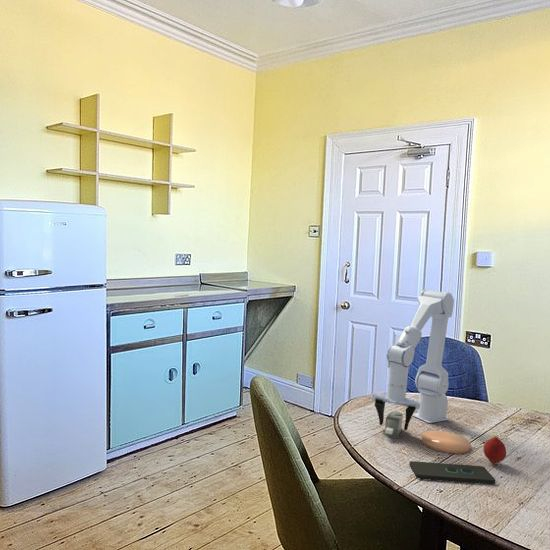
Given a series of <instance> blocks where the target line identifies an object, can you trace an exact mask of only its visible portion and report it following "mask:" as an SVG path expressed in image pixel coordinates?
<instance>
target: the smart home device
mask: <svg viewBox="0 0 550 550" xmlns="http://www.w3.org/2000/svg"><path fill="white" fill-rule="evenodd" d="M409 465H410V466H409V468H410V467H411V468H410V469H412V470H411V471H412V473H413V472H414V473H413V475H414V474H415V475H414V477H415V476H416V477H415V478H416V479H417V478H420V479H419V480H423V479H431V480H430V481H437V480H442V481H441V482H451V481H454V482H455V483H466V484H468V483H469V484H480V485H481V484H483V485H495V484H496V478H495V477H494V476H493V475H492V474H491V473H490V472H489V471H488V469H487V468H486V467H485V466H482V465H473V464H469V465H468V464H459V463H456V464H455V463H442V462H427V461H413V460H411V461H409ZM454 482H453V483H454Z"/></svg>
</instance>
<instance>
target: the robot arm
mask: <svg viewBox="0 0 550 550" xmlns="http://www.w3.org/2000/svg"><path fill="white" fill-rule="evenodd" d="M417 303H418V309H417V311H416V313H415V315H414V317H413V319H412V321H411V324H410V325H409V326H405V327H404V329H403V331H402V333H401V334H400V336H399V337H398V339H397V341H396V343H395V344H393V345H392V346H391V345H390V347H388V350H387V353H386V360H387V368H388V380H387V390H386V393H378V392H372V397H371V400H372V401H374V407H375V409H376V412H377V415H378V420H379V422H378V423H379V425H380V426H383V424H384V418H385V417H384V416H385V415H384V414H385V413H384V412H385V407H386V406H385V405H386V403H388V404H393V405H398V406H403V407H406V409H405V422H404V427H403V428H404V429H403V430H404V431H408V428H409V424H410V421H411V419H412V417H415V418H417V419H419V420H421V421H423V422H425V423H428V424H432V423H437V422H443V421H448V420H449V418H448V417H447V413H448V403H449V402H448V401H449V399H448V397H447V395H446V393H447V392H448V390H449V385H450V382H449V372H448V371H447V370H446V369H445V368H444V367H443V365H442V363H443V358H444V351H445V343H446V337H447V336H446V335H447V330H448V322H449V318H452V317H453V312H454V311H453V310H454V304H455V299H454V297H453V295H452V293H450V292H443V291H436V290H430V289H429V290H428V289H425V288H424V289H423V290H422V291H421V292H420V293H419V295H418V299H417ZM430 318H431V324H430V325H431V326H430V335H429V339H428V347H427V354H426V359H425V360H426V361H425V363H424V364H422V365H421V366H420V367H418V369H417V373H416V375H415V379H414V380H415V381H414V384H415V387H416V388H417V392H419V396H418V397H419V398H418V400H415V399H412V398H407V388H408V377H409V376H408V375H409V366H411V364H412V363H413V362H414V355H415V353H416V351H415V349H416V347H417V346H418V344H419V342H420V340H421V338H422V333H421V331H422V330H423V328H424V327H425V325H426V324H427V322H429V319H430ZM416 410H417V412H416ZM415 412H416V413H415Z"/></svg>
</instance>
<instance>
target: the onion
mask: <svg viewBox="0 0 550 550" xmlns="http://www.w3.org/2000/svg"><path fill="white" fill-rule="evenodd" d="M482 450H483V454H484V456H485V457H486V458H487V459H488V460H489V462H490V463H491V464H493V465H494V464H495V465H496V464H499V463H500V462H501V461H503V460H504V459H506V457H507V448H506V446H505V444H504V442H503V441H502V440H501V439H500V438H499V437H498V436H497V435H496V434H494V435H493V437H492V438H489V439H488V440H486V442H485V443H484V444H483V448H482Z"/></svg>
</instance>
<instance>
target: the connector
mask: <svg viewBox="0 0 550 550" xmlns="http://www.w3.org/2000/svg"><path fill="white" fill-rule="evenodd" d="M403 416H404V414H403V413H402V412H399V411H390V412H389V413H388V415H387V416H386V417H385V424H384V425H385V426H384V436H385V435H386V436H385V437H387V436H388V438H391V437H393V438H394V437H396V438H397V437H399V435H400V434H401V431H402V428H403ZM393 438H392V439H393ZM394 439H395V438H394Z"/></svg>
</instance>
